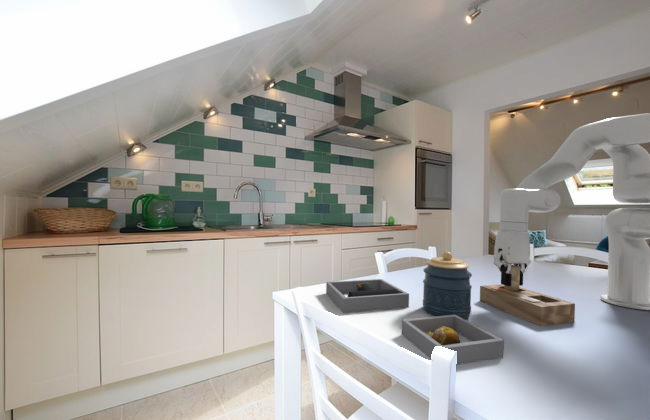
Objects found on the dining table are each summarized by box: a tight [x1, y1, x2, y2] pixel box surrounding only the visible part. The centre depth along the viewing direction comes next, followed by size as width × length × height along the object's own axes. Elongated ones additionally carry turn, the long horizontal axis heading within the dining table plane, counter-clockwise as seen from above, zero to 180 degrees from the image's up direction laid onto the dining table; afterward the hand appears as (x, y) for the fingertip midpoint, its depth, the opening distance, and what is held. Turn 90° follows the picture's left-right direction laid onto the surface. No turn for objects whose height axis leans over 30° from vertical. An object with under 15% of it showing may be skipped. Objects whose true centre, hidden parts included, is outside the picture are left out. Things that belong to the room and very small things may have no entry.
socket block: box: [479, 283, 576, 327], centre depth 84 cm, size 12×20×5 cm, turn 16°
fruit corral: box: [401, 315, 505, 366], centre depth 62 cm, size 15×14×4 cm
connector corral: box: [325, 278, 410, 314], centre depth 91 cm, size 21×18×4 cm
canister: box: [422, 251, 473, 320], centre depth 82 cm, size 13×13×18 cm
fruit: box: [424, 326, 462, 346], centre depth 63 cm, size 8×8×4 cm
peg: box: [504, 264, 520, 292], centre depth 89 cm, size 4×4×8 cm
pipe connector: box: [347, 283, 399, 297], centre depth 89 cm, size 12×5×15 cm
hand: (511, 284), depth 90 cm, fingers closed on peg, 4 cm apart
